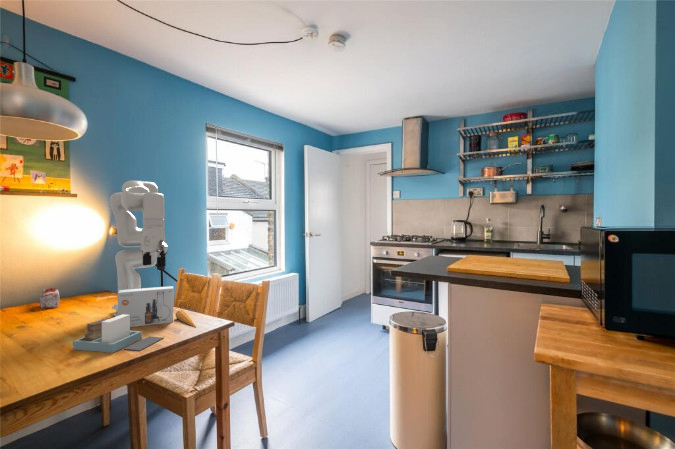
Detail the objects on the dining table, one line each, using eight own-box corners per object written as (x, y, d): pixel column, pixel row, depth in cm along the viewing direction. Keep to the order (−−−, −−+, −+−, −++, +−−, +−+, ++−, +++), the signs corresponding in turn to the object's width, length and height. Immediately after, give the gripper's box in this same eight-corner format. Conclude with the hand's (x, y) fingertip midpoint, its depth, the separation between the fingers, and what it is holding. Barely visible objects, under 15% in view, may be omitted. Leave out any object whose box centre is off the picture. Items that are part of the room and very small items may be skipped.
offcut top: (87, 330, 116) (87, 323, 116) (103, 325, 122) (102, 318, 122) (94, 331, 115) (94, 324, 115) (110, 326, 121) (110, 319, 121)
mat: (123, 349, 113) (123, 348, 113) (149, 337, 125) (149, 336, 125) (139, 351, 112) (139, 350, 112) (163, 338, 124) (163, 337, 124)
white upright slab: (101, 349, 113) (101, 321, 113) (122, 339, 122) (122, 314, 122) (109, 350, 113) (109, 322, 113) (129, 340, 122) (129, 314, 122)
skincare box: (117, 329, 134) (117, 292, 133) (119, 325, 138) (119, 289, 138) (173, 322, 143) (173, 287, 143) (173, 319, 148) (173, 285, 148)
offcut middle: (84, 339, 115) (84, 331, 115) (101, 332, 123) (101, 324, 123) (94, 340, 115) (94, 332, 115) (111, 333, 122) (111, 325, 122)
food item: (60, 308, 165) (60, 289, 165) (39, 310, 160) (39, 291, 159) (59, 302, 175) (59, 285, 175) (39, 305, 170) (39, 287, 169)
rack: (72, 349, 113) (72, 341, 113) (105, 336, 126) (105, 328, 126) (112, 352, 110) (112, 344, 110) (141, 339, 123) (141, 331, 123)
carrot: (176, 319, 150) (172, 312, 148) (185, 314, 152) (181, 306, 151) (193, 334, 136) (189, 326, 134) (203, 328, 139) (199, 320, 137)
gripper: (132, 223, 128) (132, 265, 128) (157, 223, 120) (157, 268, 120) (150, 223, 135) (151, 263, 135) (175, 223, 126) (175, 266, 126)
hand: (154, 265), depth 127 cm, fingers open, 9 cm apart
